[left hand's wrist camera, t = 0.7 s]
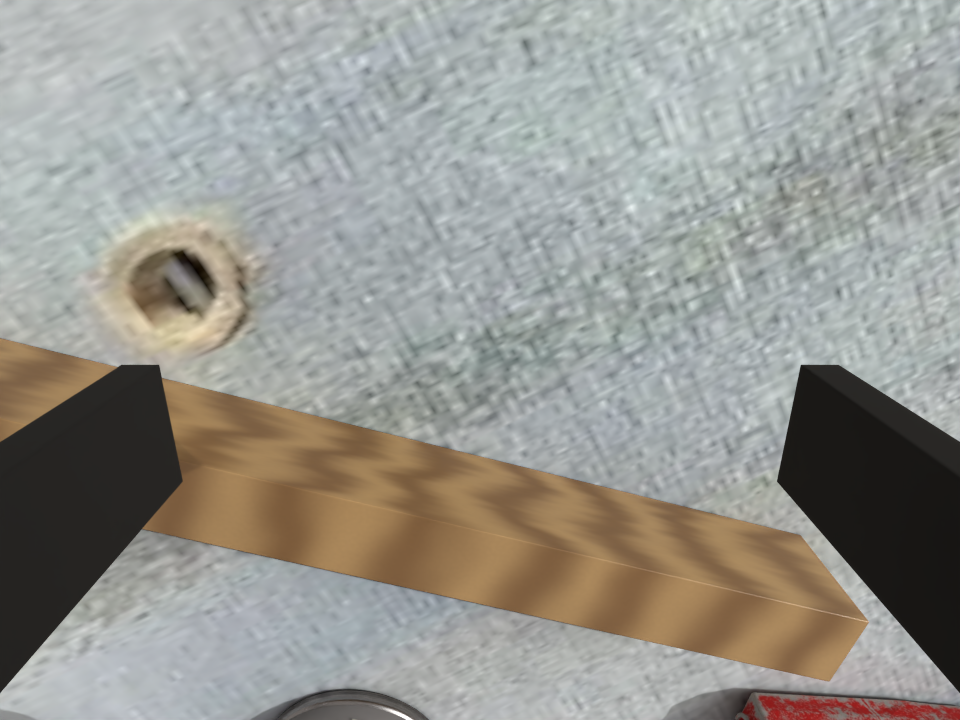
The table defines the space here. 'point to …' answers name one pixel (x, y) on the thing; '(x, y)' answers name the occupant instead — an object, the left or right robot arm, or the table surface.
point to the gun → (840, 708)
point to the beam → (472, 526)
